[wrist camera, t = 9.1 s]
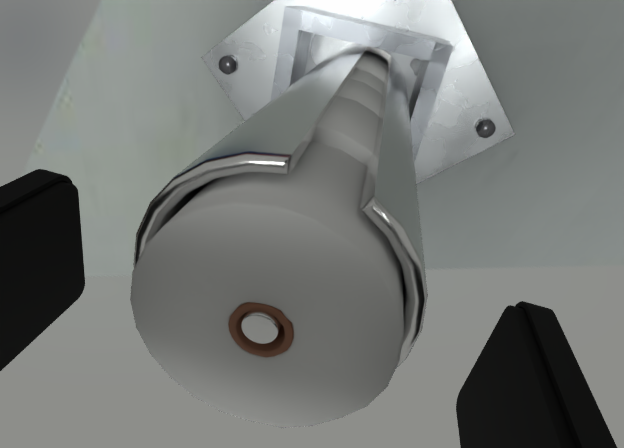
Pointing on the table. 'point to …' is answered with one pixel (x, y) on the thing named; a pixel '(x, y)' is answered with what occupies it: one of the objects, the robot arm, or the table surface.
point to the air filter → (291, 252)
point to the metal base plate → (382, 35)
